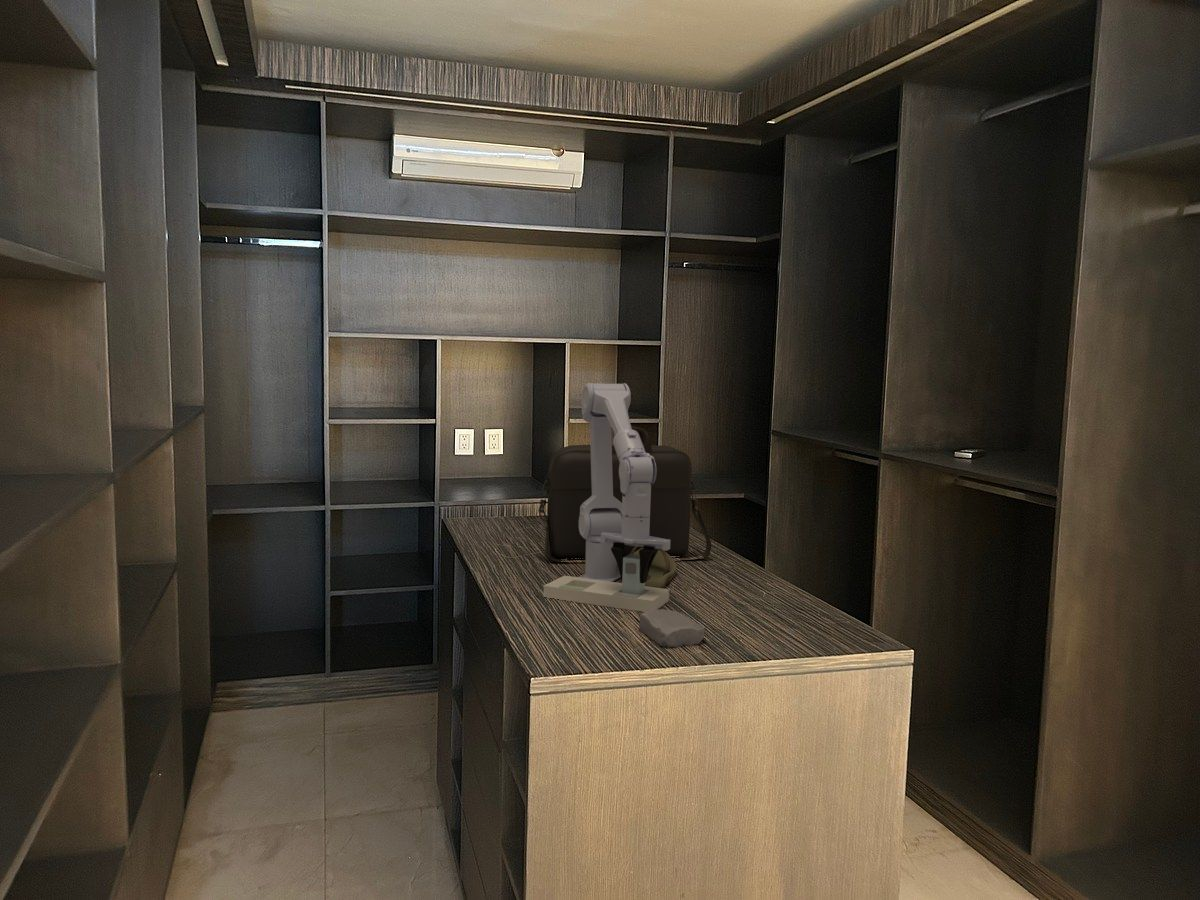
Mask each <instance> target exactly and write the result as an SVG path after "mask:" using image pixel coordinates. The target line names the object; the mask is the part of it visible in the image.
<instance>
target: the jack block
mask: <svg viewBox="0 0 1200 900" xmlns="http://www.w3.org/2000/svg"><path fill="white" fill-rule="evenodd" d="M544 597H547V598H546V599H550V598H554V599H553V600H557V599H559V600H558V601H564V600H566V601H567V602H571V601H572V603H578V604H587V605H593V606H599V607H601V606H602V607H607V608H614V609H621V610H627V611H634V612H641V613H644V612H646V611H650V610H654V609H658V610H660V608H662V607H664V605H666V604H667V603H668V602H670V601H669V600H670V589H669V588H664V589H662V588H655V587H647V586H645V593H644V594H643V595H637V594H629V593H622V582H615V581H614V582H609V581H602V580H594V579H587V578H579V576H570V575H563V576H561V577H559V578H557V579H555V580H553V581H551V582H549V583H546V584H544V585H543V598H544Z"/></svg>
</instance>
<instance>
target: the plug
mask: <svg viewBox="0 0 1200 900" xmlns="http://www.w3.org/2000/svg"><path fill="white" fill-rule="evenodd" d="M640 568H641V567H640V555H634V554H629V555H627V556H625V557H623V577H622V581H621V583H622V593H629V594H637V595H643V594H644V593H645V583H640Z"/></svg>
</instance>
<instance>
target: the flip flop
mask: <svg viewBox="0 0 1200 900" xmlns="http://www.w3.org/2000/svg"><path fill="white" fill-rule="evenodd" d="M641 549H643V547H638V546H635V547H634V548H633V549H632V550H631V552H630V554H634V555H639V550H641ZM675 574H677V564H676V561H674V560H673V559H672V557H671V556H670V555H669V554H667V553H666V552H665V551H664V550H662V549H659V550H658V552H657V554H656V556H655V558H654V560H653V562H652V564H651V567H650V570H649V573H648V577H647V582H645V586H647V587H655V588H662V589H666V588H665V587H666V585H667V584H668V583H669V582H671V581H672V580H673V579H674V578H675V577H676V575H675ZM674 576H675V577H674ZM673 577H674V578H673ZM672 578H673V579H672ZM671 579H672V580H671ZM670 580H671V581H670Z"/></svg>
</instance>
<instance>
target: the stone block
mask: <svg viewBox="0 0 1200 900" xmlns="http://www.w3.org/2000/svg"><path fill="white" fill-rule="evenodd" d="M638 623H639V625H638V627H639V628H638V629H639V631H640V632H641V633H642V634H644V635H645V636H646V635H647V636H646V637H647V638H649V639H650V638H651V639H650V640H652V641H653V640H654V641H653V642H655V644H657V645H658V644H659V645H658V646H661V647H664V648H666V647H668V648H667V649H669V648H679V647H678V646H680V647H683V645H685V646H695V645H694V644H698V645H699V644H701V642H702V641H703V639H704V638H705V630H706V628H705V626H704V625H701V624H700V623H699V624H697V623H696V622H694V621H692V620H691V619H690V618H689V617H687V616H686V615H684V614H683V613H681V612H678V611H677V610H670V609H669V610H668V609H664V608H663V609H660V608H659V609H654V610H650V611H646V612H641V614H640V616H639V621H638Z"/></svg>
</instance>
